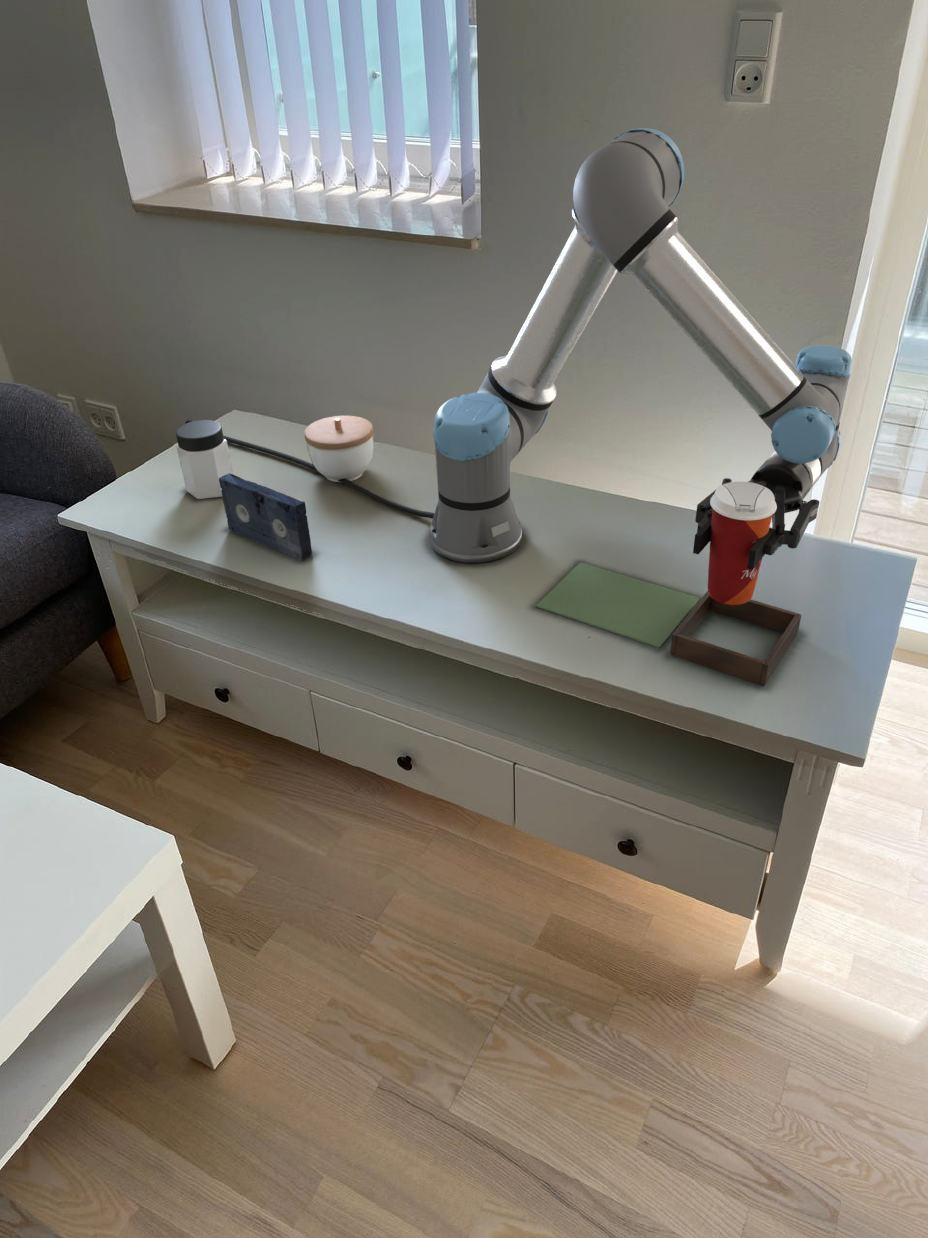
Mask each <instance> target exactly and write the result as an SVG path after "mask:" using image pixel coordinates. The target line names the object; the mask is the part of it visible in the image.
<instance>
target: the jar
mask: <svg viewBox="0 0 928 1238" xmlns="http://www.w3.org/2000/svg"><path fill="white" fill-rule="evenodd" d="M192 421H193V422H189V423H186V422H185V423H186V424H185V423H183V424H182V425H180V426H179V427H177V428H176V430H175V437H176V441H177V444H176V445H175V446H176V451H177V455H178V459H179V465H180V469H181V474H182V477H183V481H184V486H185V490H186V492H188V493H189V494H190V495H191V496H193V497H194V498H196V500H204V499H205V500H206V499H214V498H221V497H222V492H221V490H222V488H220V483H219V478H220V477H222V476H224V475H226V474H228V473H230V474H233V475H234V472H233V465H232V461H231V455H230V450H229V446H228V442H227V440H226V439H224V437H223V436H224V433H223V428H222V424H221V423H220V422H218V421H214V420H211V419H199V420H192ZM222 498H223V497H222Z"/></svg>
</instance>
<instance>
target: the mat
mask: <svg viewBox="0 0 928 1238" xmlns="http://www.w3.org/2000/svg"><path fill="white" fill-rule="evenodd" d="M699 601H700V597H699V596H694V595H692V594H688V593H685V592H681V591H678V590H675V589H671V588H668V587H665V586H661V585H659V584H655V583H652V582H648V581H644V580H641V579H638V578H635V577H631V576H627V575H626V574H625V575H624V574H621V573H618V572H614V571H612V570H608V569H605V568H602V567H597V566H595V565H591V564H589V563H584V562H579V563H578V564H577V565H576V566H575V567H574V568H573V569H572V570H570V572H569V573H567V575H566V576H565V577H564V578H563V579H561V580H560V582H558V583H557V584H556V585H555V586H554V587H553V588H552V589H551V590H550V591H549V592H548V593H547V594H546V595H545V596H544V597H543V598H542V599H541V600H540V601H539V602H538V603H537V604H536V605H535V607H536V608H538V609H541V610H545V611H547V612H549V613H553V614H556V615H558V616H562V617H565V618H568V619H571V620H574V621H577V622H580V623H583V624H586V625H588V626H592V627H595V628H598V629H601V630H604V631H607V632H610V633H612V634H613V633H614V634H617V635H619V636H623V637H626V638H628V639H631V640H634V641H638V642H640V643H643V644H646V645H649V646H652V647H655V648H658V649H660V648H661V647H662V646H663V645H664V644H665V643H666V642H667V640H668V639H669V637H670V636H672V634H673V633H674V632H675V630H676V629H677V628H678V627H679V625H680V624H681V623H682V622H683V621H684V619H685V618H686V617H687V616H688V614H689V613H690V612H691V611H692V609H693V608H694V607H695V606H696V604H697V603H698V602H699Z"/></svg>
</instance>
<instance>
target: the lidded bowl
mask: <svg viewBox="0 0 928 1238" xmlns="http://www.w3.org/2000/svg"><path fill="white" fill-rule="evenodd" d="M303 434H304V440H305V443H306V449H307V453H308V456H309V459H310V461H311V464H313V465H314V467H315V468H316V469H317V470H318V471H319V472H318V473H320V474H321V475H322V476H324V477H325V479H327V481H329V482H333V483H340V482H339V481H338V480H340V479H347V480H349V481H351V482H353V481H356V480H358V479H360V478H361V477H362V476H363V475H364V472H365V471H366V470H367V468H369V466H370V464H371V462H372V459H373V456H374V447H375V442H374V425H373V424H372V422H371V421H370V420H368V419H366V418H364V417H362V416H361V417H360V416H357V415H345V414H344V415H333V416H328V417H324V418H320V419H317V420H315V421H313V422H312V423H310V424H309V425H307V427H305V430H304V433H303Z"/></svg>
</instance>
